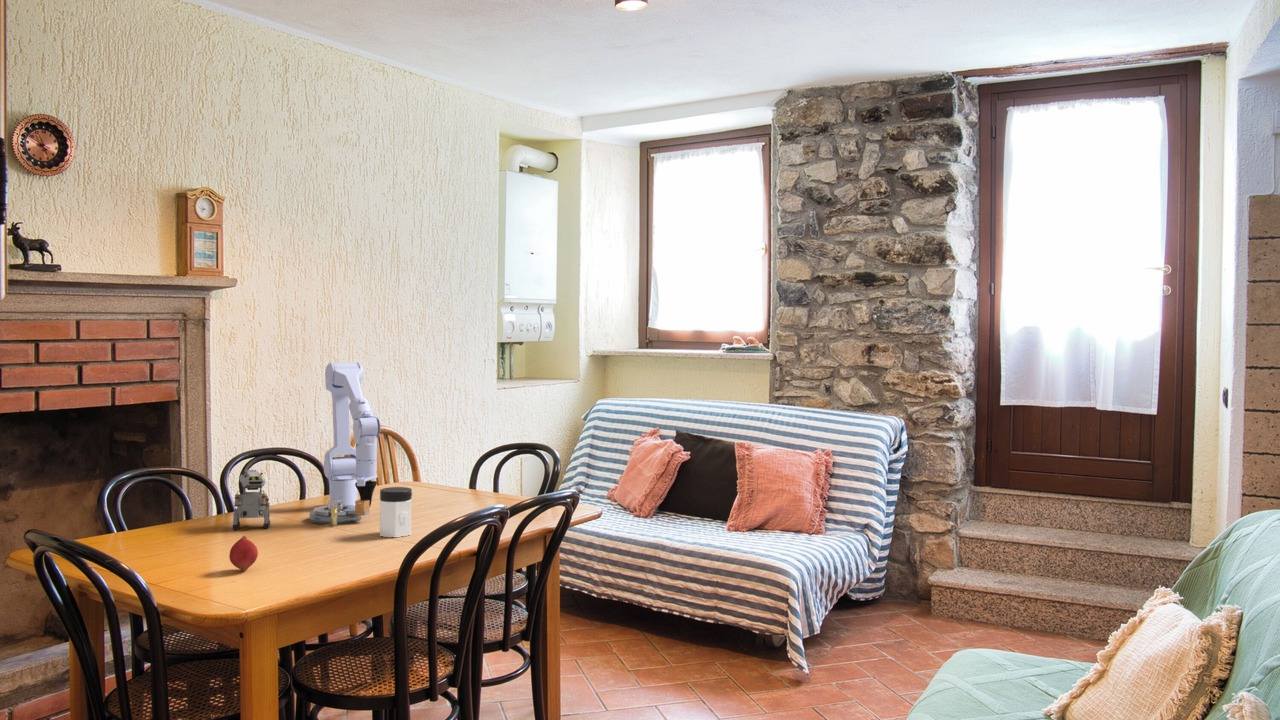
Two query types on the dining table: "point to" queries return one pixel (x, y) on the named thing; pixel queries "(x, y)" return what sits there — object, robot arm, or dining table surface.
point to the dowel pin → (333, 516)
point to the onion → (243, 554)
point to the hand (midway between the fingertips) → (366, 507)
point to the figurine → (251, 499)
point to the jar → (395, 511)
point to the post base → (340, 519)
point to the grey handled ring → (346, 509)
